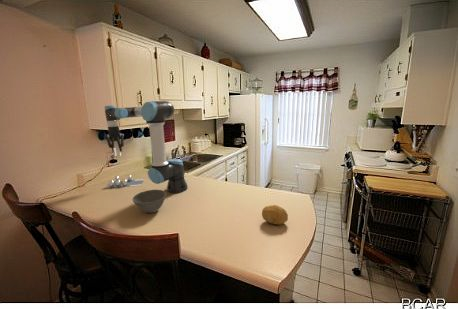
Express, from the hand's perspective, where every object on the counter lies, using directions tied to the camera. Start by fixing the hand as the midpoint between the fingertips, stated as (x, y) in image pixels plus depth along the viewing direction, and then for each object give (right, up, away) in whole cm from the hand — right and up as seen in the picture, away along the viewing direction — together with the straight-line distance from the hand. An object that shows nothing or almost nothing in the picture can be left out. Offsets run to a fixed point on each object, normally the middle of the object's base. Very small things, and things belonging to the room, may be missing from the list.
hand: (118, 155), depth 171 cm
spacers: (0, -24, +6) cm, 25 cm away
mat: (+3, -24, +6) cm, 25 cm away
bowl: (+41, -34, -40) cm, 66 cm away
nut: (0, -23, +5) cm, 24 cm away
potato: (+112, -35, -57) cm, 130 cm away
